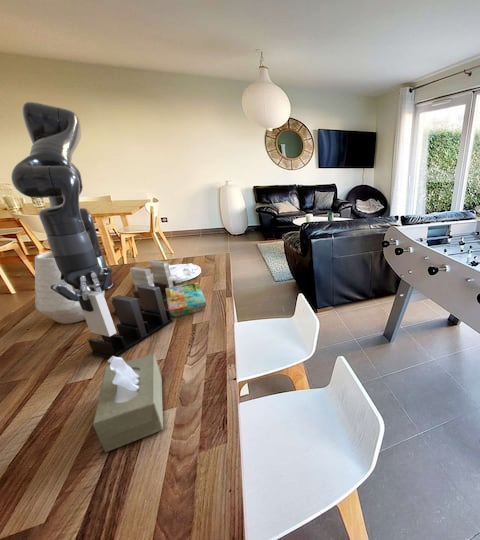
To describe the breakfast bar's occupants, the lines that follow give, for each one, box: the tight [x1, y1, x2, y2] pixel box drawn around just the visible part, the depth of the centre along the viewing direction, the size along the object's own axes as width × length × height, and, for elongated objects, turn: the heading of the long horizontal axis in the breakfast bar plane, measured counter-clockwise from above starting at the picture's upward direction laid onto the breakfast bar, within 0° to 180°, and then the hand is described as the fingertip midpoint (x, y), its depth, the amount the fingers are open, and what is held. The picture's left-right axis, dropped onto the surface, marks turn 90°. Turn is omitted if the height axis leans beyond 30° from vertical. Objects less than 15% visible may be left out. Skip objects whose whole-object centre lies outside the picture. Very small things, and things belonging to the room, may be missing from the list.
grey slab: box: [111, 259, 177, 315], centre depth 109 cm, size 21×8×14 cm, turn 166°
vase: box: [34, 250, 106, 325], centre depth 97 cm, size 18×17×23 cm
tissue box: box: [92, 353, 164, 453], centre depth 64 cm, size 19×10×16 cm, turn 33°
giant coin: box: [151, 262, 202, 285], centre depth 134 cm, size 20×20×3 cm
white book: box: [79, 290, 118, 337], centre depth 79 cm, size 2×7×13 cm, turn 76°
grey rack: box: [87, 284, 174, 360], centre depth 89 cm, size 21×8×14 cm, turn 166°
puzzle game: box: [165, 281, 207, 318], centre depth 111 cm, size 12×5×20 cm
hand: (94, 308), depth 79 cm, fingers closed on white book, 2 cm apart
